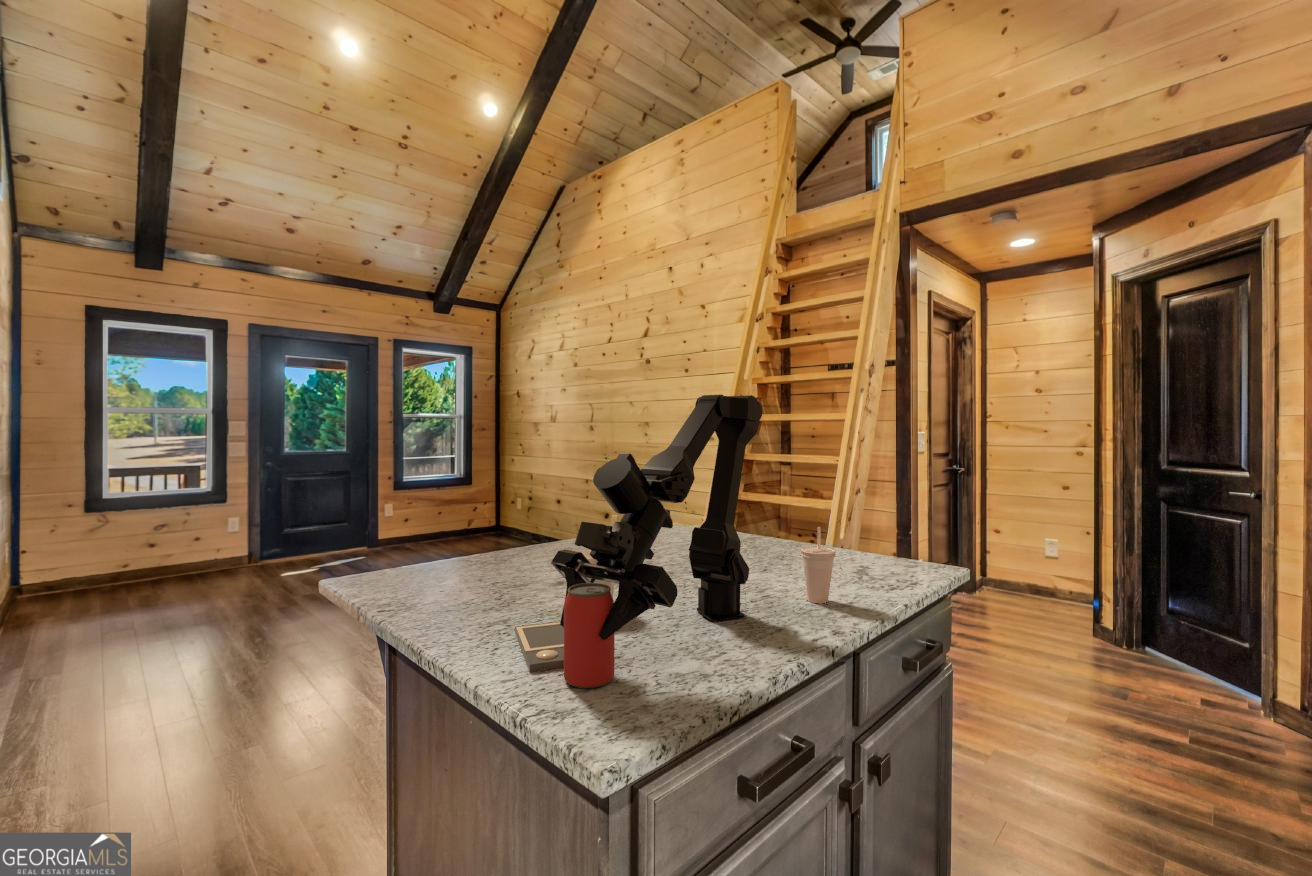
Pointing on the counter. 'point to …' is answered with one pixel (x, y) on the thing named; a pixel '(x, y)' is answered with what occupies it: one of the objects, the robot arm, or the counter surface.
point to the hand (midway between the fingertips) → (581, 632)
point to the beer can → (587, 636)
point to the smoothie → (818, 571)
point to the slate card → (542, 645)
